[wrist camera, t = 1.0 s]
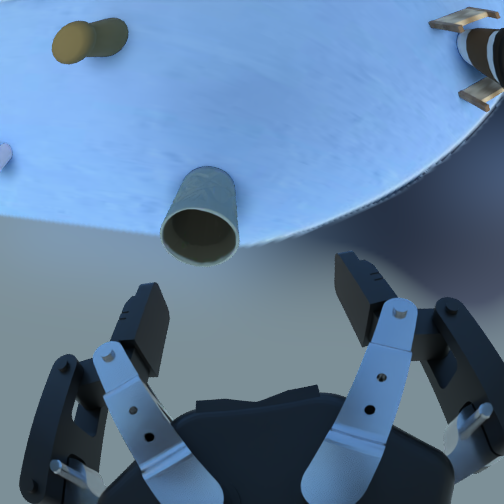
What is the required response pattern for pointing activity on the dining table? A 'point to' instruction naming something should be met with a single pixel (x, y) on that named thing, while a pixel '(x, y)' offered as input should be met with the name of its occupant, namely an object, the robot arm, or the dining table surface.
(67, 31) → the cork
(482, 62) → the coffee cup
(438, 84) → the dining table surface
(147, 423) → the robot arm
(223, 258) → the green embossed planter
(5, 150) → the smoothie
